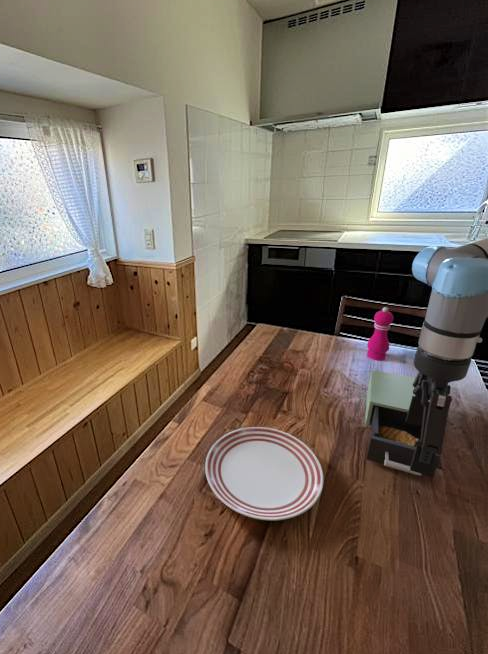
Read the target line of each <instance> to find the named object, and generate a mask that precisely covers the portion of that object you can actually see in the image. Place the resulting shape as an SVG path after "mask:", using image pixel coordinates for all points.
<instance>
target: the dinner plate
mask: <svg viewBox="0 0 488 654" xmlns="http://www.w3.org/2000/svg"><path fill="white" fill-rule="evenodd" d="M204 471H205V476H206V480H207V482H208V483H207V484H208V485H209V487H210V489H211V491H212V492H213V494H214V495H215V496H216V498H218V500H220V501H221V502H222V503H223V504H224V505H225V506H227V508H229V509H231V510H232V511H234V512H236V513H238V514H240V515H241V516H245V517H248V518H250V519H255V520H259V521H260V520H261V521H271V522H272V521H283V520H285V521H286V520H288V519H292V518H295V517H298V516H301V515H302V514H304V513H306V512H307V511H309V510H310V509H311V508H312V507H313V506H314V505H315V504H316V503H317V502H318V500H319V498H320V496H321V494H322V492H323V487H324V473H323V472H324V471H323V467H322V465H321V463H320V461H319V459H318V457H317V456H316V454H315V453H314V452H313V450H312V449H311V448H310V447H309V446H308V445H306V444H305V443H304V442H303V441H302V440H301V439H299V438H297V437H295V436H294V435H292V434H290V433H288V432H285V431H283V430H279V429H276V428H272V427H265V426H248V427H241V428H238V429H235V430H232V431H230V432H227V433H226V434H224V435H222V436H221V437H220V438H218V439H217V440H216V441H215V442H214V443H213V444H212V446H211V447H210V448H209V451H208V453H207V455H206V459H205V464H204Z"/></svg>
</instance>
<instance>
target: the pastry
mask: <svg viewBox="0 0 488 654" xmlns="http://www.w3.org/2000/svg"><path fill="white" fill-rule="evenodd" d="M378 437H381V438H385V439H388V440H392V441H396V442H400V443H404V444H408V445H412V446H415V447H416V446H417V445H415V441H417V442H418V440H419V439H416V438H415V437H413V436H412V435H411V434H408V433H407V432H405V431H401V430H397V429H394V428H391V427H386V426H384V427H381V428H378Z"/></svg>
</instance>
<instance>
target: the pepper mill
mask: <svg viewBox="0 0 488 654" xmlns="http://www.w3.org/2000/svg"><path fill="white" fill-rule="evenodd" d="M373 319H374V325H373V327H374V331H373V334H372V336H370V337H369V339H368V341H367V344H366V347H367V352H366V356H367V357H368V358H369V359H370V360H371V359H372V360H373V361H384V360H385V359H386V358H387V352H388V351H389V350H390V342H389V338H388V331H389V330H390V329H391V324H392V323H393V321H394V315H393V313H392V312H390V311H389V308H388V307H385V306H384V307H383V308H382V309H381V310H379V311H376V313H375V314H374V317H373Z"/></svg>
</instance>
